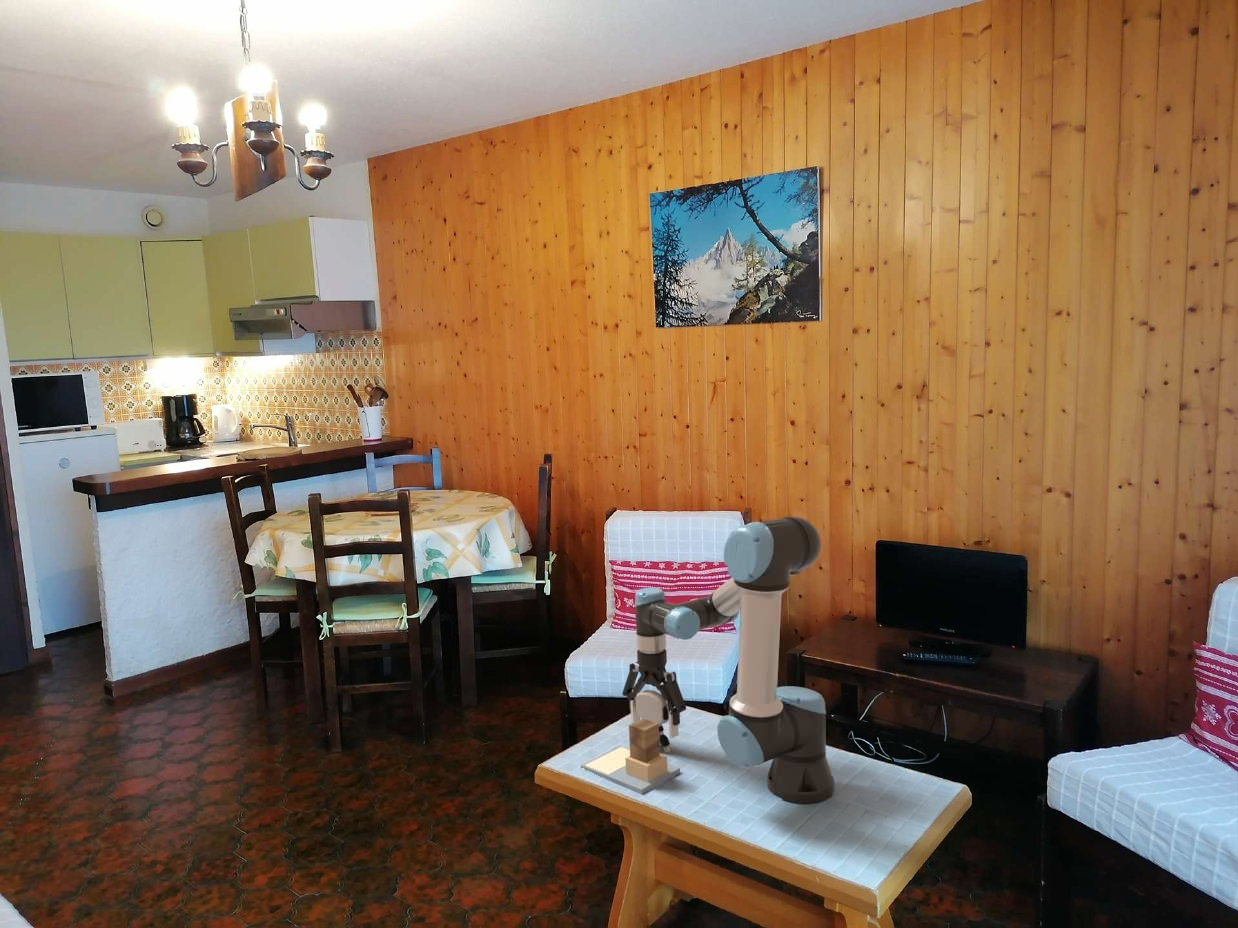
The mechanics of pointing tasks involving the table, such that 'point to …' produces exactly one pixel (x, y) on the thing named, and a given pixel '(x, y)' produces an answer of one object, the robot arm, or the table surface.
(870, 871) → the table surface
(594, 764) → the board
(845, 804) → the table surface
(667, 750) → the robot toy
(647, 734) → the walnut block
